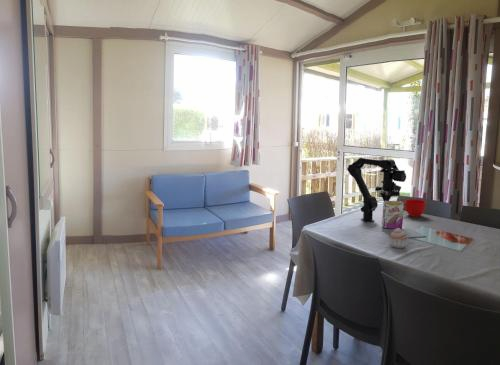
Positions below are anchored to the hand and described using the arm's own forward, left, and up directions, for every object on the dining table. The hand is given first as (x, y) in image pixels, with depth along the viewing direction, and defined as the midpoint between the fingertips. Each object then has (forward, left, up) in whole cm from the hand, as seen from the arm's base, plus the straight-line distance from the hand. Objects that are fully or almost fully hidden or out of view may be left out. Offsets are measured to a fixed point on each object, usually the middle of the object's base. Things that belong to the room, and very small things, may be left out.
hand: (386, 204), depth 241 cm
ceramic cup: (-17, +30, -13) cm, 37 cm away
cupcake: (+40, -16, -13) cm, 45 cm away
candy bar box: (+8, 0, -13) cm, 15 cm away
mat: (+20, 0, -13) cm, 24 cm away
